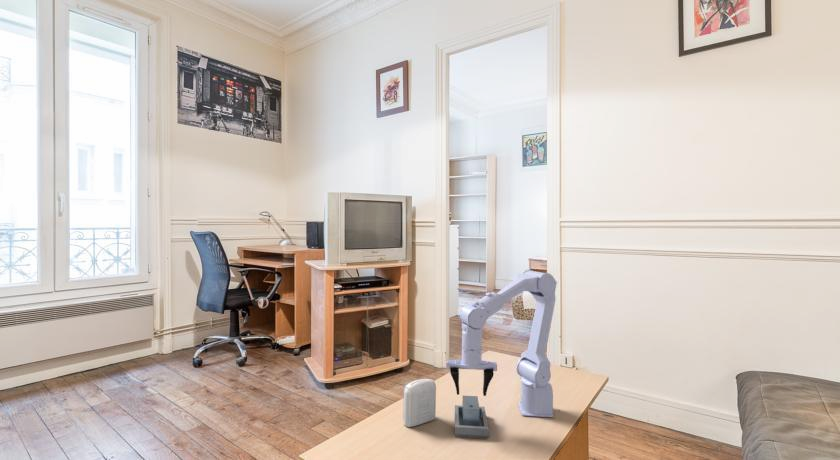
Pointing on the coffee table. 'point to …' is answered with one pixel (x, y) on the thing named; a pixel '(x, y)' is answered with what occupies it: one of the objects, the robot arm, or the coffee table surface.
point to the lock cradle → (471, 431)
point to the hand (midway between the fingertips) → (471, 393)
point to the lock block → (470, 411)
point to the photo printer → (419, 402)
